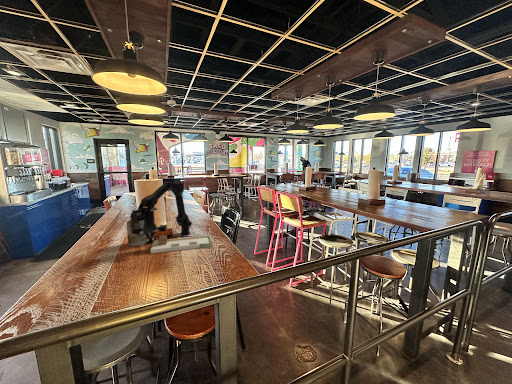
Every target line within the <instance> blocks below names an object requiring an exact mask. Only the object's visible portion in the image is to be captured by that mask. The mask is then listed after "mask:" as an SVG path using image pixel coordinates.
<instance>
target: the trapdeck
mask: <svg viewBox="0 0 512 384" xmlns="http://www.w3.org/2000/svg"><path fill="white" fill-rule="evenodd" d="M211 247H213V239H212V236H211V234H208V235H197V236H196V235H195V236H187V237H177V238H169V239H168V238H167V244H165V245H159V241H158V239H156V240H152V245H151V248H150V255H151V254H159V253H166V252H168V253H169V252H176V251H184V250H185V251H186V250H193V249H202V248H211Z"/></svg>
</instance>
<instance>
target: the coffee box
mask: <svg viewBox="0 0 512 384" xmlns="http://www.w3.org/2000/svg"><path fill="white" fill-rule="evenodd" d="M134 227H141V228H143V227H144V220H141V221H138V222H132V221H131V219H129V220H128V221H127V220H126V231H127V233H126V234H127V241H128V242H127V244H128V246H133V247H134V246H137V247H138V246H139V247H142V246H144V245H145V244H146V243H147V242H148V241H147V239H148V238H147V236H146V235H145V234H143V231H140V232H139V233H138V234H132V230H133V228H134Z"/></svg>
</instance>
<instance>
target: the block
mask: <svg viewBox="0 0 512 384" xmlns="http://www.w3.org/2000/svg"><path fill="white" fill-rule="evenodd" d="M167 239H168V235H159V236H158V239H157V240H158V241H159V245H165V244H167Z"/></svg>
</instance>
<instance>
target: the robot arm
mask: <svg viewBox="0 0 512 384" xmlns="http://www.w3.org/2000/svg"><path fill="white" fill-rule="evenodd" d="M184 189H185V188H184V184H183V183H182V182H171V181H164V182H163V183H162V185H160V186H159V187H158V188H157V189H156V190H155V191H154V192H152V193H150V194H149V195H146V196H145V197H143V198H142V199H141V202H140V203H139V205H138V207H137V209H133V210H131V213H130V216H129V217H130V220H131V221H132V222H138V221H141V220H144V227H143V228H141V227H134V228H133V230H132V234H138V233H139V232H140V231H143V234H145V235H146V239H148V241H149V243H153V239H154V235H155V234H157V232H162V233H163V232H166V231H167V229H168V228H167V225H166V224H160V225H159V226H157V224H156V221H155V211H156V210H158V208H157V207H155V206H156V205H157V204H158V201H159V199H161V197H162V196H163V195H164V194H166V192H167V191H169V190H171V193H172V194H174V197H175V202H176V208H177V209H176V210H177V216H175V220H176V223H177V224H178V226H180V228H181V230H180V231H181V232H180V236H187V235H190V234H191V232H190V231H191V230H190V227H191V226H192V225H193V223H192V221H191V220H190V219H189V215H188V214H187V213H186V209H185V203H184V197H183V193H184Z"/></svg>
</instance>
